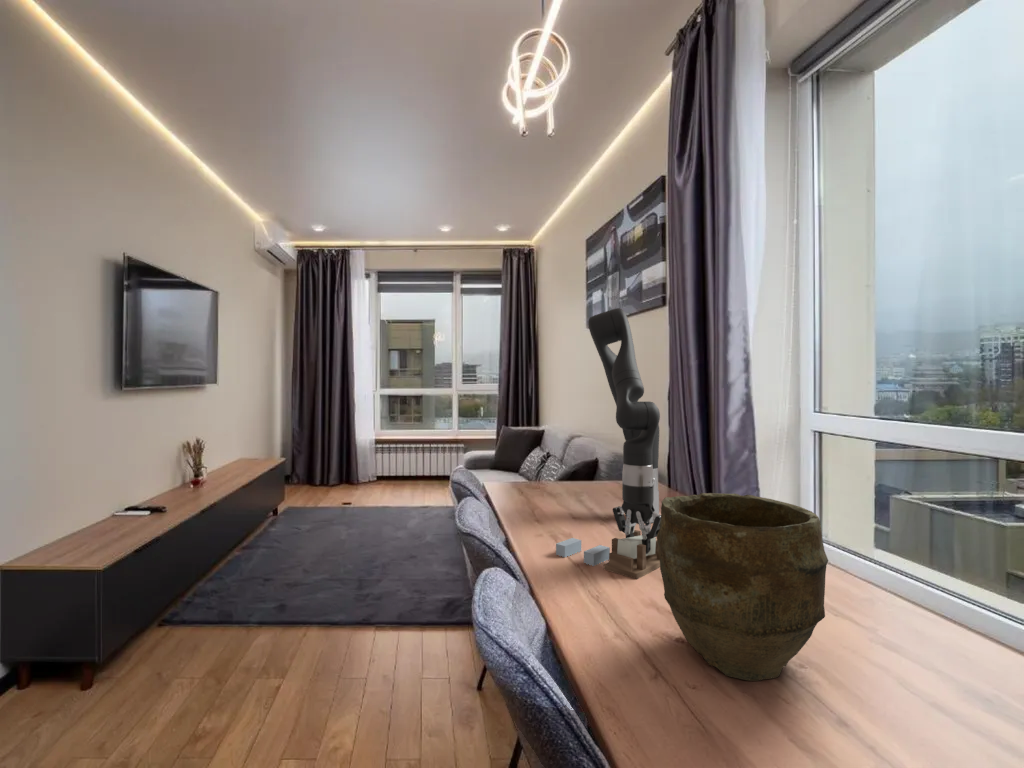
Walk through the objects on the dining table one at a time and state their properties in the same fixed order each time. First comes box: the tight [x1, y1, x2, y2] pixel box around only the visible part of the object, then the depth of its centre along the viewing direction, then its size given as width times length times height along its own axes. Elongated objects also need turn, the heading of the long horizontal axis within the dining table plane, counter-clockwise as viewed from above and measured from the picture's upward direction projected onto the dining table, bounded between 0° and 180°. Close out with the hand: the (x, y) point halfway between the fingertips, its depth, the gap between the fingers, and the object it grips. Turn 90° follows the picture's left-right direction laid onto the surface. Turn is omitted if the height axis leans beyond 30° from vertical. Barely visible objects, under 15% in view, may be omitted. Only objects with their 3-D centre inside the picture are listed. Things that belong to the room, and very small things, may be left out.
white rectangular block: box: [617, 534, 657, 559], centre depth 126 cm, size 4×12×4 cm, turn 135°
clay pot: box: [656, 492, 829, 682], centre depth 84 cm, size 25×25×25 cm
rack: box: [603, 529, 660, 580], centre depth 126 cm, size 17×9×7 cm, turn 135°
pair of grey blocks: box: [555, 537, 611, 567], centre depth 132 cm, size 7×12×3 cm, turn 45°
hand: (638, 551), depth 126 cm, fingers closed on white rectangular block, 3 cm apart
